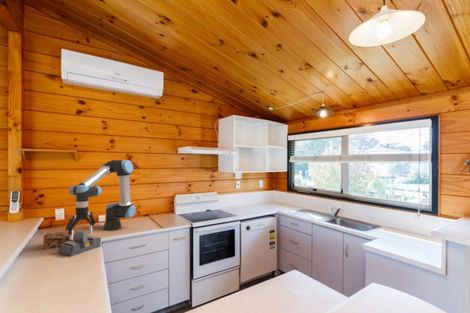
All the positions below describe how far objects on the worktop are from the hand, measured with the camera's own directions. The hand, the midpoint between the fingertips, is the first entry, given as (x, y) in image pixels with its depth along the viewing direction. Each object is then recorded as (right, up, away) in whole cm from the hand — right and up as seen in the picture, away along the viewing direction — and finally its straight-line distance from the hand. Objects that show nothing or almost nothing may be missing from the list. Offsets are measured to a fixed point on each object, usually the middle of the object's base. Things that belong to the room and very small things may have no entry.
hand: (81, 236), depth 168 cm
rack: (0, -9, 0) cm, 9 cm away
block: (0, -6, 0) cm, 6 cm away
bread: (-21, -9, +7) cm, 24 cm away
